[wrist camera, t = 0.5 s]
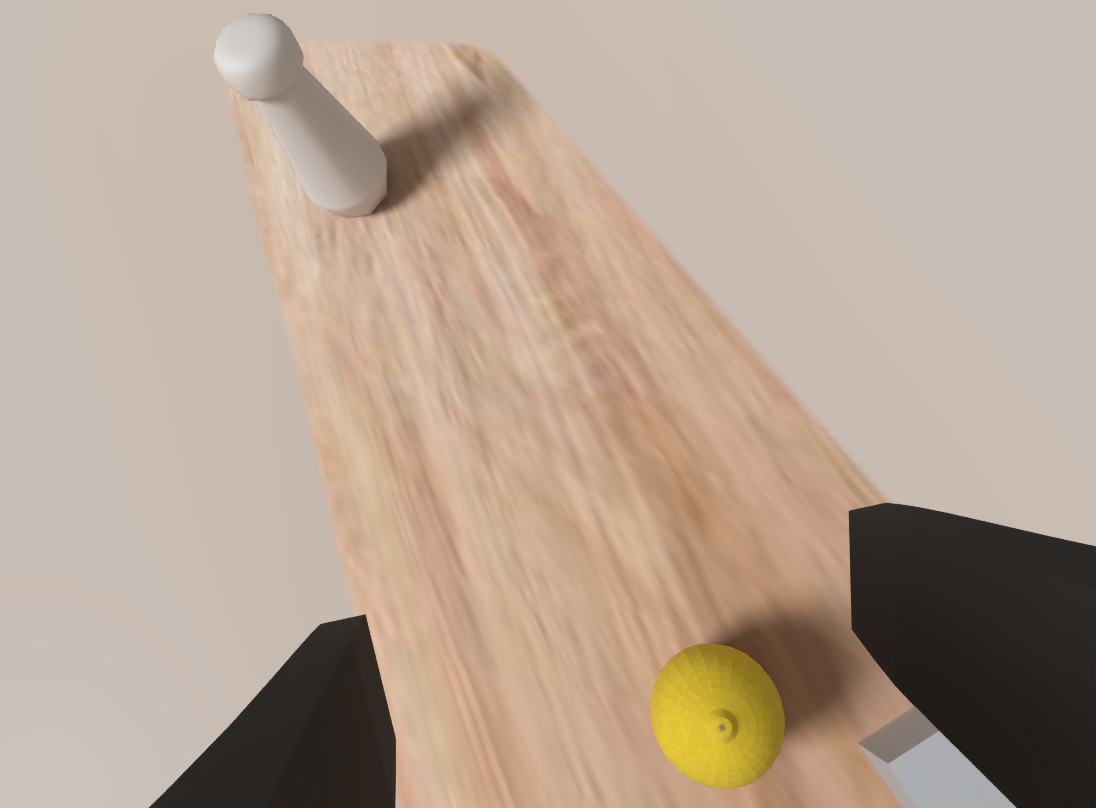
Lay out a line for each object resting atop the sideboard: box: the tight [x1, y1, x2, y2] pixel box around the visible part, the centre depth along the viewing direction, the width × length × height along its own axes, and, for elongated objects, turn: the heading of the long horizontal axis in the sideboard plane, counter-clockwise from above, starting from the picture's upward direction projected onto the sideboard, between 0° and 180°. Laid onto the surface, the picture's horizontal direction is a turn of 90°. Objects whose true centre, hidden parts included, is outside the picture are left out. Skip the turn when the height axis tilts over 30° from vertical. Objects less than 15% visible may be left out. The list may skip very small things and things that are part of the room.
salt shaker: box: [214, 14, 387, 218], centre depth 39 cm, size 6×6×13 cm
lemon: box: [650, 644, 785, 789], centre depth 28 cm, size 6×6×8 cm
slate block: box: [858, 707, 1016, 808], centre depth 27 cm, size 4×4×4 cm
